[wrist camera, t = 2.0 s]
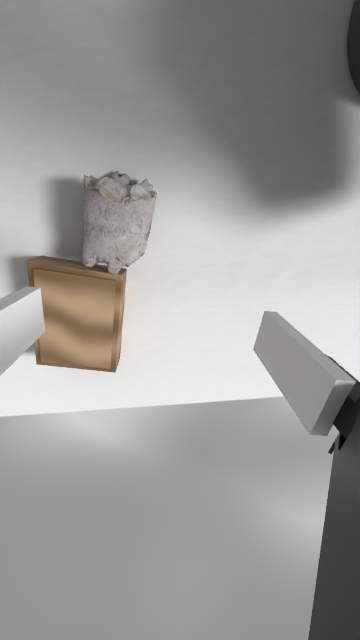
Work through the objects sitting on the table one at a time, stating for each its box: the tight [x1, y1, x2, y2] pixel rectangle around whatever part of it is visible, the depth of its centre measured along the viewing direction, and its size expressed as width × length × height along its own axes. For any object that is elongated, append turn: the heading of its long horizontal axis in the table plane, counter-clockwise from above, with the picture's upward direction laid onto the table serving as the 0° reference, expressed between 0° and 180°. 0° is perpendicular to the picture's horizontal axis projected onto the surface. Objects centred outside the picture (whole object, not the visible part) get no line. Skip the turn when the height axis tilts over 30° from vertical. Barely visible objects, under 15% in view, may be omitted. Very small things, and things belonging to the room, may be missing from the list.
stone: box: [82, 171, 157, 275], centre depth 30 cm, size 8×12×7 cm, turn 167°
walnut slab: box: [27, 256, 127, 372], centre depth 36 cm, size 16×12×4 cm
